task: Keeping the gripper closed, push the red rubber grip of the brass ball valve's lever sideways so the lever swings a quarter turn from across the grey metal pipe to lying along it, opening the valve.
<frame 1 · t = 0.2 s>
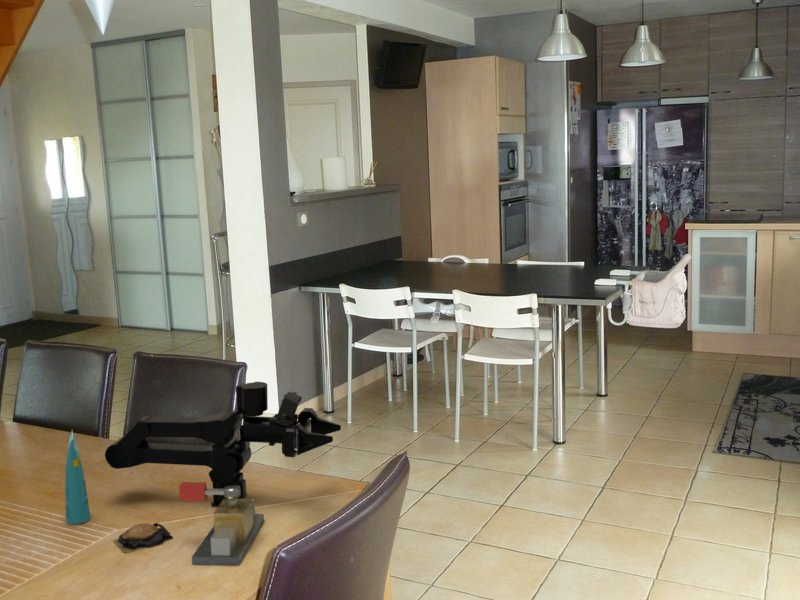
hand: (336, 433, 180), 16 cm above the table, tool horizontal, fingers open, 9 cm apart
tube: (79, 520, 177), on the table
valve lever: (210, 491, 164), point 11 cm above the table, hinge at 0.0°
valve stand: (235, 541, 166), on the table
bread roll: (143, 543, 167), on the table
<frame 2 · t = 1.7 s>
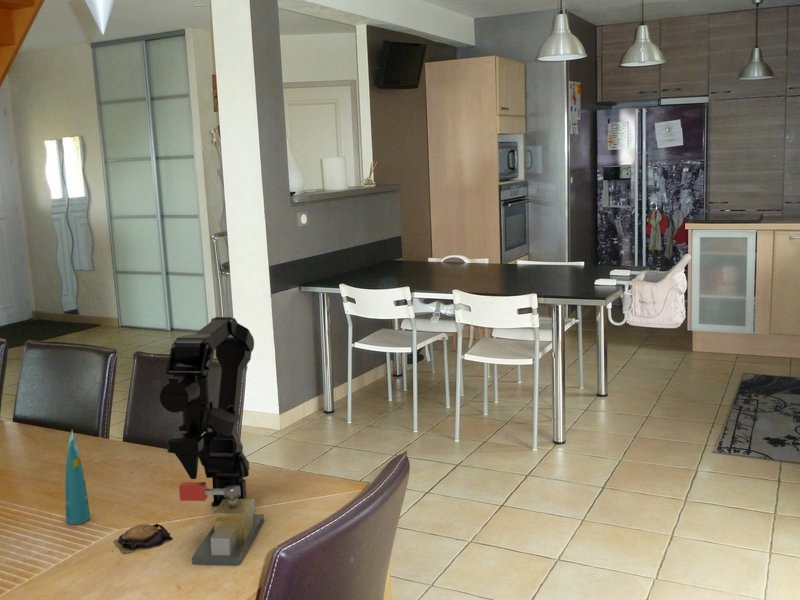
hand: (199, 472, 168), 13 cm above the table, tool pointing down, fingers open, 7 cm apart
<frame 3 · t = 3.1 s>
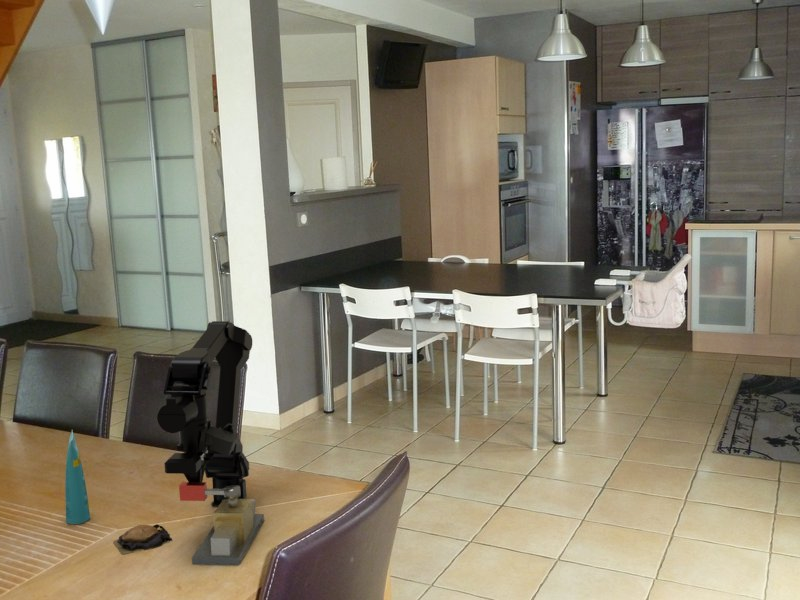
hand: (197, 491, 167), 9 cm above the table, tool pointing down, fingers closed
valve lever: (210, 491, 164), point 11 cm above the table, hinge at 0.0°, touching gripper
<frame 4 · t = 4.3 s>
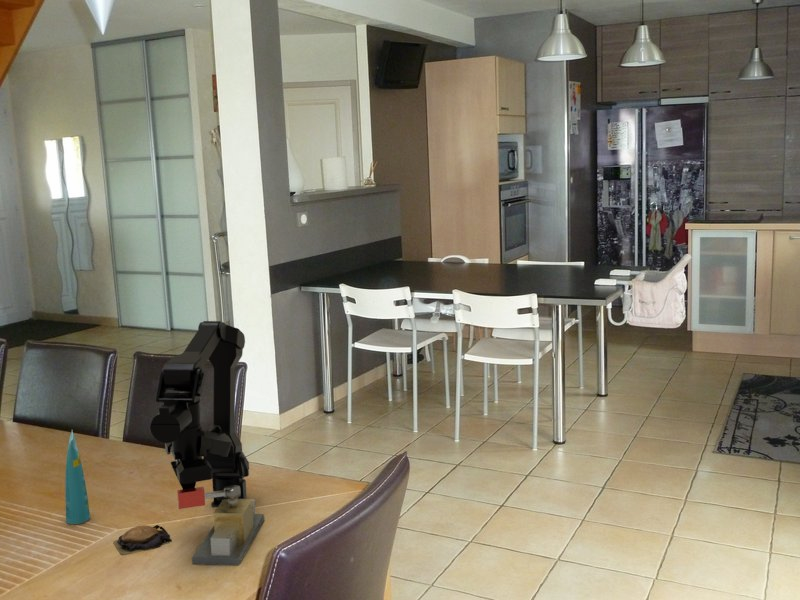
hand: (189, 497, 164), 10 cm above the table, tool pointing down, fingers closed
valve lever: (209, 495, 163), point 11 cm above the table, hinge at 23.4°, touching gripper
everything else where it was.
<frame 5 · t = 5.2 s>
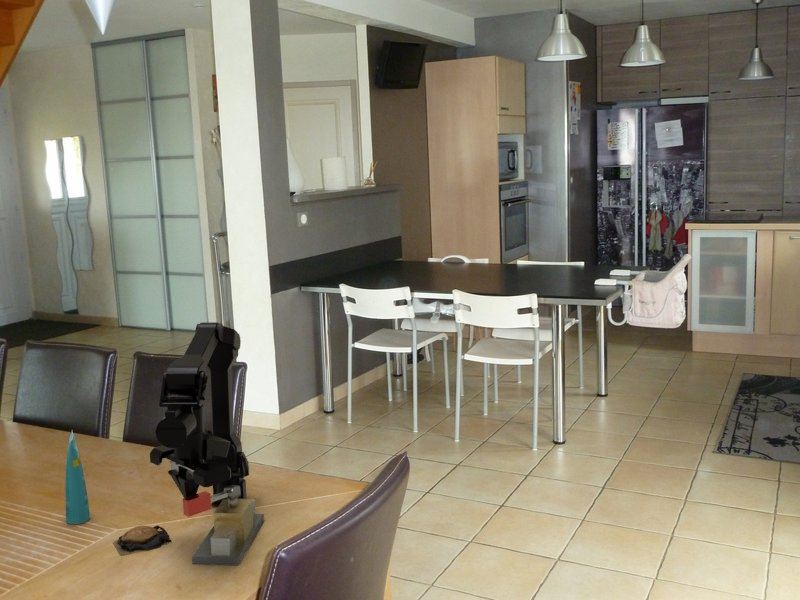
hand: (190, 505, 160), 10 cm above the table, tool pointing down, fingers closed
valve lever: (213, 498, 161), point 11 cm above the table, hinge at 49.6°, touching gripper
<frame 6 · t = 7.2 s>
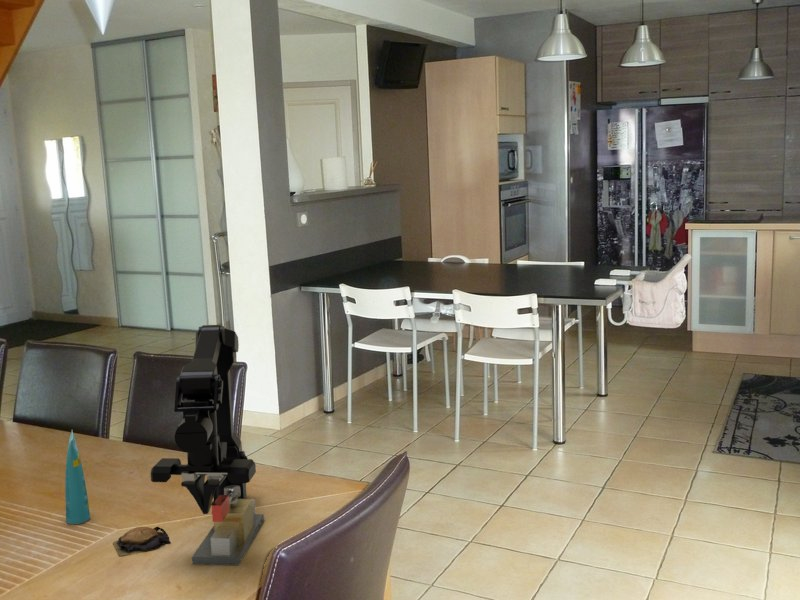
hand: (206, 513, 157), 9 cm above the table, tool pointing down, fingers closed
valve lever: (226, 500, 160), point 11 cm above the table, hinge at 90.3°
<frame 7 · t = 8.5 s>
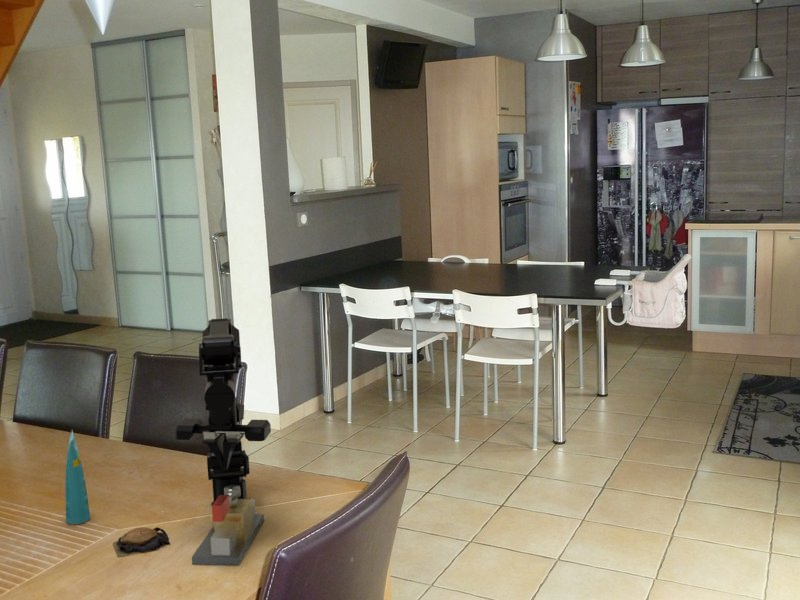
hand: (225, 468, 171), 13 cm above the table, tool pointing down, fingers closed
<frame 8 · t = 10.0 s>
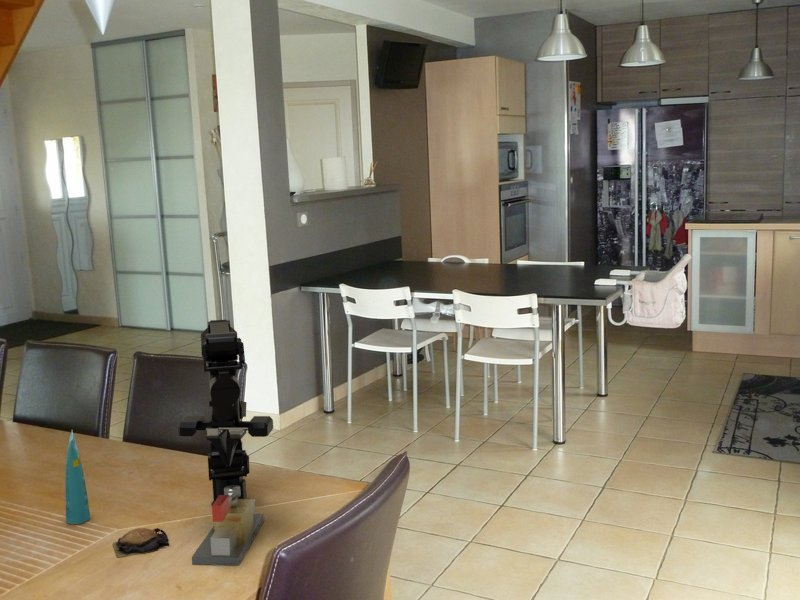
hand: (228, 465, 172), 13 cm above the table, tool pointing down, fingers closed
at the end: valve lever at +90° (first picture: +0°); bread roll moved 2.4 cm from its start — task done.
